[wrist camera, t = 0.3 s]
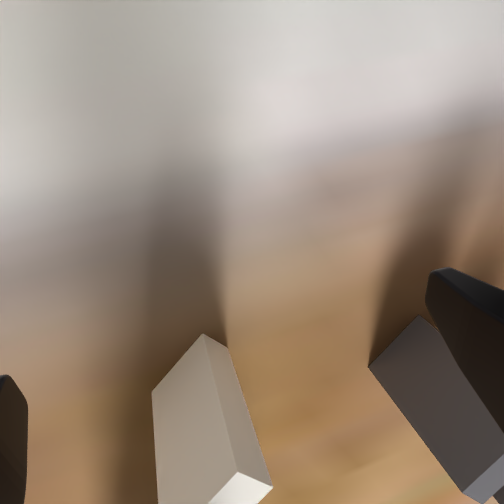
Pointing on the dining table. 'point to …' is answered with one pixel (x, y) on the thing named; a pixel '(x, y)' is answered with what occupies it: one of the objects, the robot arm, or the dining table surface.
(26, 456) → the robot arm
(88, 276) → the dining table surface
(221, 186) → the dining table surface
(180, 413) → the domino head
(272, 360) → the dining table surface
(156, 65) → the dining table surface
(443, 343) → the domino
